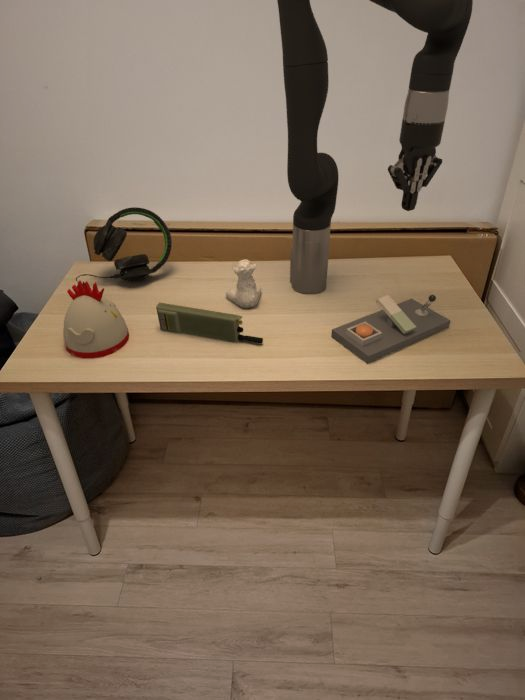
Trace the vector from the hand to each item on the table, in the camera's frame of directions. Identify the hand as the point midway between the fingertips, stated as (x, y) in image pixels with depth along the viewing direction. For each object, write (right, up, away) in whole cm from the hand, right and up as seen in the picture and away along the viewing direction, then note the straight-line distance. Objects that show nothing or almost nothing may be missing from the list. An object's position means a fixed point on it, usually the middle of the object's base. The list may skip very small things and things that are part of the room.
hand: (407, 209), depth 98 cm
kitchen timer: (-67, -27, +11) cm, 73 cm away
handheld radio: (-42, -26, +12) cm, 50 cm away
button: (-8, -26, +7) cm, 28 cm away
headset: (-66, -11, +33) cm, 75 cm away
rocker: (0, -21, +9) cm, 23 cm away
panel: (0, -25, +12) cm, 27 cm away
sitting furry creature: (-34, -17, +24) cm, 45 cm away
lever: (+8, -20, +14) cm, 25 cm away
